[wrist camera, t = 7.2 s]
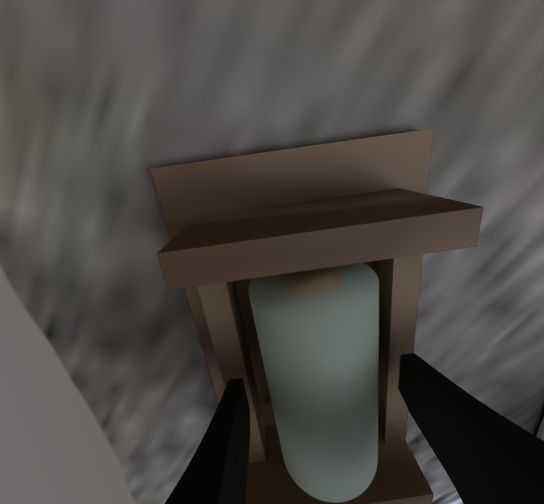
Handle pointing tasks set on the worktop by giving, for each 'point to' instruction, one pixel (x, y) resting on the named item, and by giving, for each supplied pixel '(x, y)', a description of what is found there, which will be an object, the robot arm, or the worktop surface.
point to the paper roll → (323, 374)
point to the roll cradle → (308, 256)
